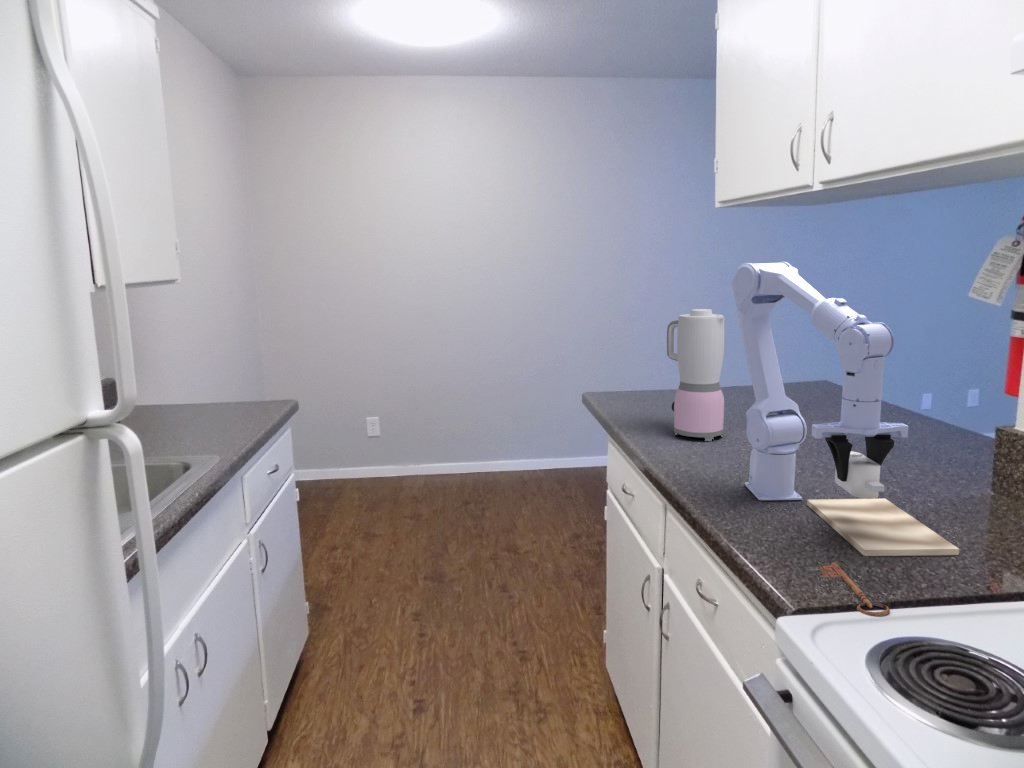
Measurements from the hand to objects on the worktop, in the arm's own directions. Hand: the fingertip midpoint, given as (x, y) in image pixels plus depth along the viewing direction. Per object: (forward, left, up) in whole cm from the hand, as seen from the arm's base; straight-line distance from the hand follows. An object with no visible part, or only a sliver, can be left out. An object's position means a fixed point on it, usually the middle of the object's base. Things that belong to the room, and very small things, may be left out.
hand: (856, 479), depth 113 cm
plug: (+1, 0, -1) cm, 2 cm away
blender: (-62, -12, -9) cm, 64 cm away
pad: (0, +4, -8) cm, 9 cm away
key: (+21, -10, -9) cm, 25 cm away
